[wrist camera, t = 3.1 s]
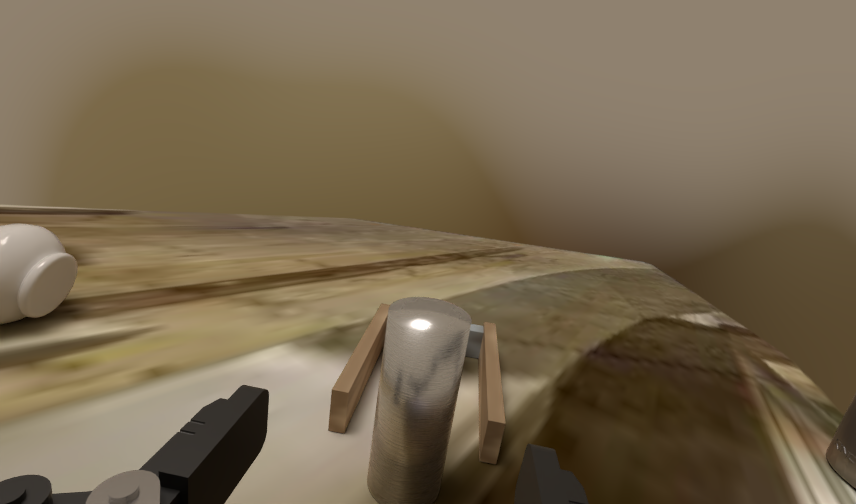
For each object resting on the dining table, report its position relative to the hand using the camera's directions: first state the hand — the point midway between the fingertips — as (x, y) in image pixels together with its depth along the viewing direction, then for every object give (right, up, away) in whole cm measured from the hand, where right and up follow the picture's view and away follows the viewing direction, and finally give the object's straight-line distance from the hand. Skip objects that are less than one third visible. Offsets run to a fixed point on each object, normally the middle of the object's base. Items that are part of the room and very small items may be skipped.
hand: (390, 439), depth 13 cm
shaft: (-1, -9, +15) cm, 17 cm away
